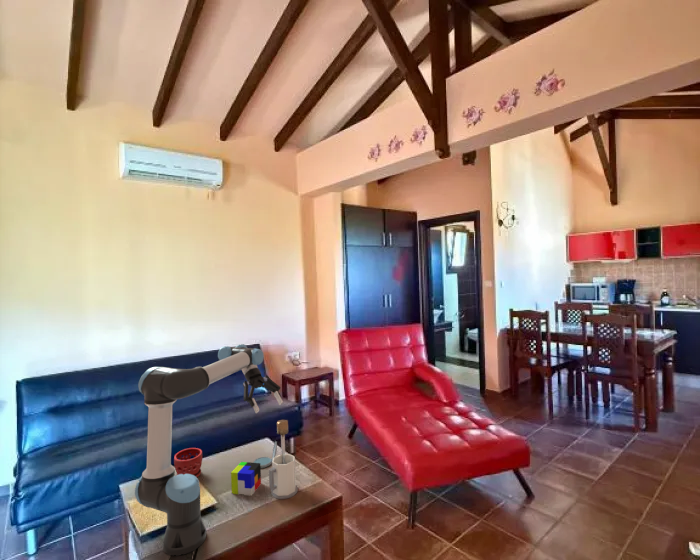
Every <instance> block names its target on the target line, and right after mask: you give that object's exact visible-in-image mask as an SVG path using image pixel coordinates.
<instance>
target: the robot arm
mask: <svg viewBox="0 0 700 560" xmlns="http://www.w3.org/2000/svg"><path fill="white" fill-rule="evenodd" d="M217 358H218V361H215V362H213V363H211V364H208V365H205V366H203V367H202V366H196V367H193V368H187V369H186V368H175V367H174V368H172V367H166V366H153V367H149V368H148V369H146V371H145V372H144V373H143V374H142V375H141V377H140V379H139V381H138V383H137V384H138V385H137V386H138V391H139V393H141V394H142V395H143V396H144V397H143V398H144V400H143V401H144V405H145V406H146V407H148V414H147V415H148V417H147V443H146V444H147V447H146V468H145V469H144V470H143V471H142V473H141V476H140V477H139V479H138V482H137V483H136V485H135V488H134V496H135V499H136V501H137V502H138V503H139V504H140V505H142V506H144V507H146V508H149V509H152V510H156V511H160V512H163V513H165V514H166V520H167V521H166V522H167V523H166V524H167V525H166V529H165V532H164V536H163V539H162V550H163V552H164V553H165V554H166V555H169V556H174V555H176V556H181V554H183V555H186V554H189V553H191V552H194V551H195V550H197V549H199V547H200V546H202V544H203V543H204V542H205V540H206V539H207V529H206V526H205V523H204V521H203V519H202V516H201V487H200V480H199V478H198V477H196V476H194V475H191V474H184V475H183V474H179V475H177V474H175V472H176V470H175V465H172V439H173V438H172V437H173V436H172V435H173V434H172V432H173V431H172V430H173V405H174V404H175V403H176V402H177V400H181V399H184V398H189V397H191V396H193V395H195V394H199V393H200V392H202V391H205V390H206V389H208V387H209V386H210V385H211V384H213V383H215V382H218V381H219V380H222V379H224V378H226V377H228V376H230V375H232V374H234V373H237V372H239V371H242V373H243V375H244V378H245V380H244V382H243V383H242V387H243V402H247V403H249V405H250V407H251V408H253V410H254V412H255V414H258V413H259V411H260V408H259V406H258V403H257V402H256V399H255V397H253V395H254V392H255V390H256V389H259V388H264V389H266V390H268V391H270V392H272V393H273V396H274V397H275V399H276V401H277V403H278V406H281V405H282V404H283V403H284V401H283V399H282V396H281V395H282V394H281V393H280V390H281V386H279V385H278V384H277V383H276V382H275V381H273V380H272V379H271V378H270V376H269V375H265V376H262V373H261V371H260V369H259V367H258V365H261V364H262V363H263V361H264V352H263V350H262V349H260V348H255V347H254V348H251V347H249V348H248V347H247V345H246V344H243V343H241V344H238V345H236V346H228V345H227V346H221V347H220V348H219V350H218V352H217ZM249 386H250V391H249Z"/></svg>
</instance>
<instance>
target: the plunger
mask: <svg viewBox="0 0 700 560" xmlns="http://www.w3.org/2000/svg"><path fill="white" fill-rule="evenodd" d="M276 431H277V432H276V435H280V442H281V443H280V445H281V454H282V463H281V464H288V463H285V454H286V443H285V442H286V440H285V439H286V437H285V435H287V434H289V420H288V419H280V420H277V422H276Z"/></svg>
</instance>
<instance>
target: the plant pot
mask: <svg viewBox="0 0 700 560" xmlns="http://www.w3.org/2000/svg"><path fill="white" fill-rule="evenodd" d="M173 456H174V458H173V464H174V465H173V466H174V467H175V472H176V475H179V474H183V475H184V474H191V475H194V476H196V477H197V478H198V477H199V476H200V475H201V473H202V469H201V468H202V464H203V463H202V462H203V450H202V449H201V448H198V447H197V448H196V447H189V448H184V449H182V450H180V451H178V452H177V453H175V454H174V455H173ZM192 456H193V458H191V457H192Z"/></svg>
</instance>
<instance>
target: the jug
mask: <svg viewBox="0 0 700 560" xmlns="http://www.w3.org/2000/svg"><path fill="white" fill-rule="evenodd" d="M281 463H282V453H281V454H279V455H275V457H274V458H273V461H272V463H271V468H269V469H268V479H269V481H268V482H269V483H268V484H269V490H270V493H271V496H272V497H273V498H274V497H275V498H274V499H277V500H286V499H291V498H293V497H294V496H296V494H297V493H298V489H299V487H298V485H297V481H296V480H297V479H296V478H297V477H296V457H295V456H294V455H292V454H291V453H285V463H288V464H281Z"/></svg>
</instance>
